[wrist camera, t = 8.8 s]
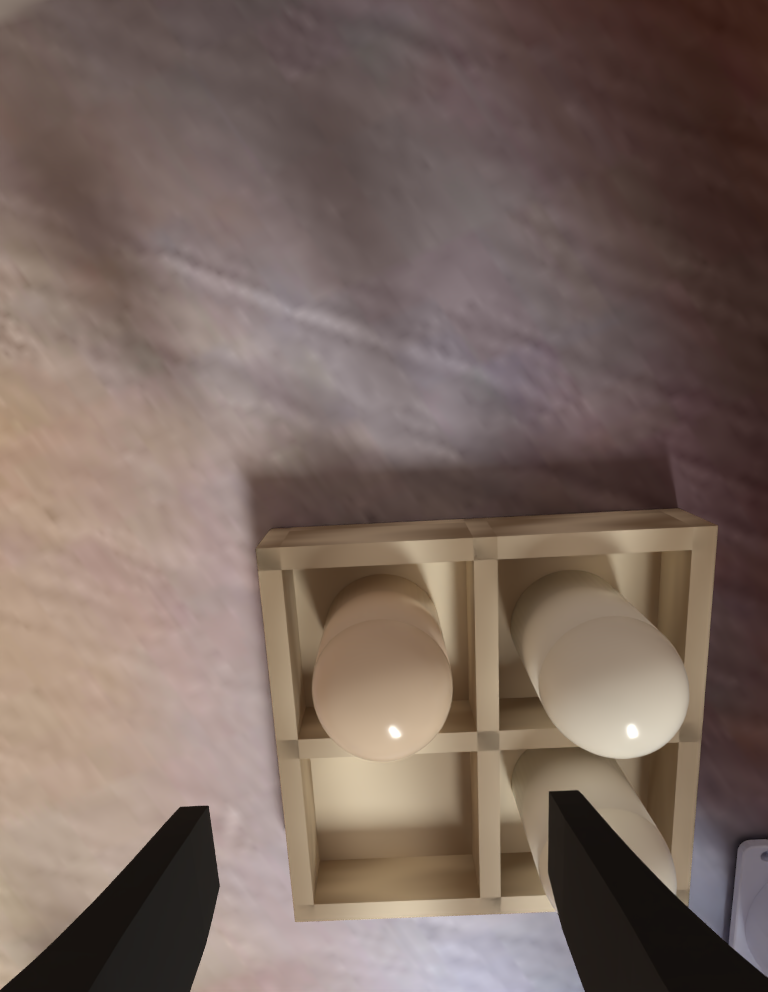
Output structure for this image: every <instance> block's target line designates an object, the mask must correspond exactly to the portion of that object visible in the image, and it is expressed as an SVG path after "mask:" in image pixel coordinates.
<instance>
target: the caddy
mask: <svg viewBox="0 0 768 992" xmlns="http://www.w3.org/2000/svg"><path fill="white" fill-rule="evenodd" d="M717 532H718V526H717V525H715V524H713V523H711V522H709V521H706V520H704V519H702V518H700V517H697V516H695V515H693V514H691V513H688V512H686V511H684V510H682V509H679V508H673V509H653V510H633V511H613V512H593V513H573V514H553V515H532V516H512V517H492V518H472V519H452V520H432V521H412V522H392V523H372V524H352V525H332V526H312V527H292V528H272V529H270V530H269V532H268V533H267V534H266V535H265V537H264V538H263V539H262V541H261V542H260V543H259V545H258V546H257V547H256V558H257V567H258V577H259V586H260V596H261V605H262V614H263V624H264V633H265V643H266V652H267V662H268V671H269V680H270V690H271V699H272V709H273V718H274V728H275V737H276V746H277V756H278V765H279V775H280V784H281V793H282V803H283V812H284V822H285V831H286V841H287V850H288V859H289V869H290V878H291V888H292V897H293V907H294V916H295V922H309V921H334V920H359V919H384V918H410V917H435V916H460V915H485V914H511V913H536V912H556V911H555V909H554V908H553V906H552V905H551V903H550V901H549V899H548V898H547V896H546V894H545V891H544V889H543V886H542V884H541V881H540V877H539V874H538V871H537V868H536V865H535V862H534V859H533V855H532V852H531V849H530V846H529V843H528V840H527V837H526V833H525V830H524V827H523V824H522V821H521V818H520V814H519V811H518V808H517V805H516V802H515V799H514V796H513V792H512V786H511V779H512V773H513V770H514V767H515V765H516V763H517V761H518V759H519V758H520V756H521V755H522V754H523V753H524V752H525V750H527V749H539V748H562V747H579V746H577V745H576V744H574V743H573V742H571V741H570V740H569V739H568V738H566V737H565V736H564V735H563V734H562V733H561V732H560V731H559V730H558V728H557V727H556V726H555V725H554V724H553V723H552V721H551V720H550V718H549V716H548V715H547V713H546V711H545V709H544V707H543V705H542V703H541V701H540V699H539V697H538V694H537V692H536V690H535V688H534V686H533V684H532V682H531V680H530V677H529V675H528V673H527V671H526V669H525V667H524V665H523V662H522V660H521V658H520V656H519V654H518V652H517V650H516V648H515V645H514V643H513V640H512V636H511V618H512V613H513V610H514V607H515V605H516V603H517V601H518V600H519V598H520V596H521V595H522V594H523V593H524V591H525V590H526V589H527V588H528V587H529V586H530V585H532V584H533V583H534V582H536V581H537V580H539V579H540V578H542V577H544V576H546V575H549V574H551V573H555V572H558V571H564V570H581V571H586V572H590V573H592V574H595V575H597V576H599V577H601V578H603V579H604V580H606V581H607V582H608V583H609V584H610V585H612V586H613V587H614V588H615V589H616V590H617V591H618V592H619V593H620V594H621V595H622V596H623V597H624V598H625V599H626V600H627V601H628V602H630V603H631V604H632V605H633V606H634V607H635V608H636V609H637V610H638V611H639V612H640V613H641V614H642V615H643V616H644V617H645V618H646V619H648V620H649V621H650V622H651V623H652V624H653V625H654V626H655V627H656V628H657V629H658V630H659V631H660V632H661V633H662V634H663V635H664V636H665V637H666V638H667V639H668V640H669V641H670V642H671V644H672V645H673V646H674V647H675V649H676V651H677V652H678V654H679V656H680V658H681V659H682V662H683V664H684V667H685V670H686V673H687V677H688V681H689V705H688V709H687V713H686V716H685V719H684V722H683V723H682V725H681V727H680V729H679V730H678V731H677V733H676V734H675V735H674V737H673V738H672V739H671V740H670V741H669V742H668V743H666V744H665V745H664V746H663V747H661V748H660V749H658V750H656V751H654V752H652V753H650V754H647V755H644V756H641V757H636V758H630V759H615V760H616V762H617V763H618V765H619V766H620V768H621V770H622V771H623V773H624V775H625V776H626V778H627V779H628V781H629V783H630V784H631V786H632V788H633V789H634V791H635V792H636V794H637V796H638V797H639V799H640V801H641V802H642V804H643V805H644V807H645V809H646V810H647V812H648V814H649V815H650V817H651V818H652V820H653V822H654V823H655V825H656V827H657V828H658V830H659V831H660V833H661V835H662V836H663V838H664V840H665V842H666V844H667V846H668V848H669V850H670V853H671V856H672V859H673V862H674V866H675V871H676V880H677V892H676V896H677V897H678V898H679V899H680V900H681V901H682V902H683V903H684V904H685V905H686V906H688V903H689V891H690V878H691V865H692V852H693V839H694V827H695V814H696V801H697V788H698V775H699V763H700V750H701V737H702V724H703V711H704V699H705V686H706V673H707V660H708V647H709V635H710V622H711V609H712V596H713V583H714V571H715V558H716V545H717ZM375 574H390V575H396V576H400V577H403V578H406V579H408V580H410V581H412V582H414V583H415V584H417V585H418V586H419V587H421V588H422V589H423V590H424V591H425V592H426V593H427V594H428V595H429V597H430V598H431V599H432V601H433V603H434V605H435V607H436V609H437V612H438V616H439V620H440V625H441V629H442V633H443V638H444V642H445V646H446V651H447V655H448V659H449V664H450V668H451V672H452V681H453V696H452V702H451V707H450V710H449V713H448V716H447V719H446V721H445V723H444V725H443V727H442V728H441V730H440V731H439V733H438V734H437V735H436V737H435V738H434V739H433V740H432V741H431V742H430V743H429V744H428V745H427V746H426V747H424V748H423V749H422V750H420V751H418V752H417V753H415V754H413V755H411V756H409V757H407V758H404V759H401V760H397V761H392V762H373V761H368V760H364V759H361V758H358V757H355V756H353V755H352V754H350V753H348V752H346V751H345V750H343V749H342V748H340V747H339V746H338V745H337V744H336V743H335V742H334V741H333V740H332V739H331V738H330V737H329V736H328V734H327V733H326V732H325V730H324V728H323V727H322V725H321V723H320V721H319V719H318V717H317V714H316V711H315V708H314V703H313V696H312V679H313V672H314V667H315V663H316V659H317V655H318V651H319V646H320V642H321V638H322V634H323V630H324V626H325V621H326V617H327V614H328V610H329V608H330V606H331V603H332V602H333V600H334V599H335V597H336V596H337V595H338V593H339V592H340V591H341V590H342V589H343V588H345V587H346V586H347V585H349V584H350V583H352V582H353V581H355V580H357V579H360V578H362V577H365V576H369V575H375Z"/></svg>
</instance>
